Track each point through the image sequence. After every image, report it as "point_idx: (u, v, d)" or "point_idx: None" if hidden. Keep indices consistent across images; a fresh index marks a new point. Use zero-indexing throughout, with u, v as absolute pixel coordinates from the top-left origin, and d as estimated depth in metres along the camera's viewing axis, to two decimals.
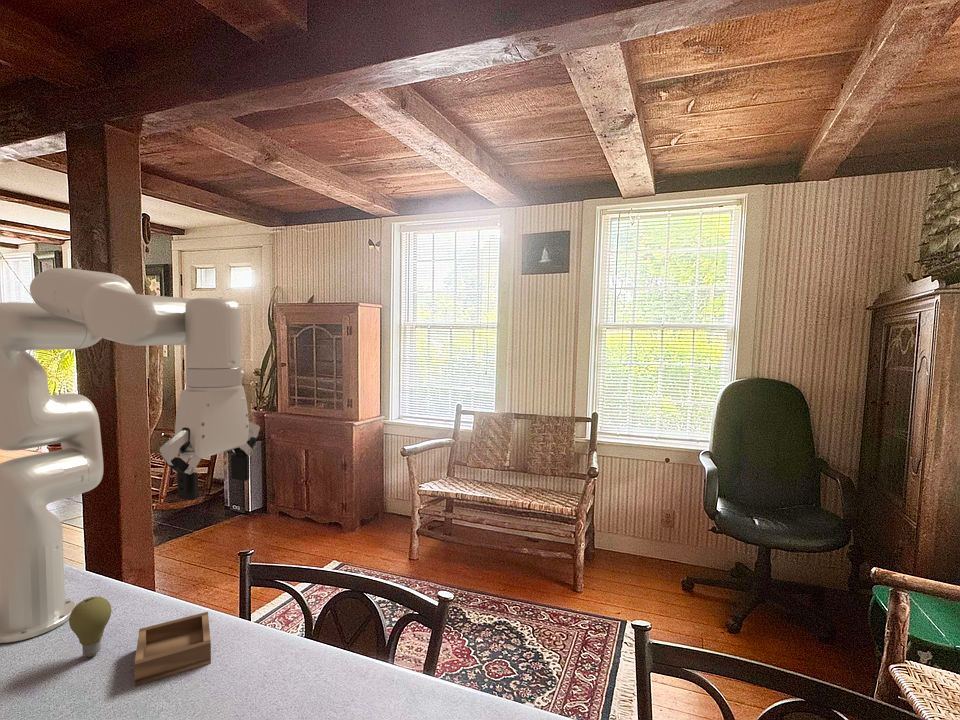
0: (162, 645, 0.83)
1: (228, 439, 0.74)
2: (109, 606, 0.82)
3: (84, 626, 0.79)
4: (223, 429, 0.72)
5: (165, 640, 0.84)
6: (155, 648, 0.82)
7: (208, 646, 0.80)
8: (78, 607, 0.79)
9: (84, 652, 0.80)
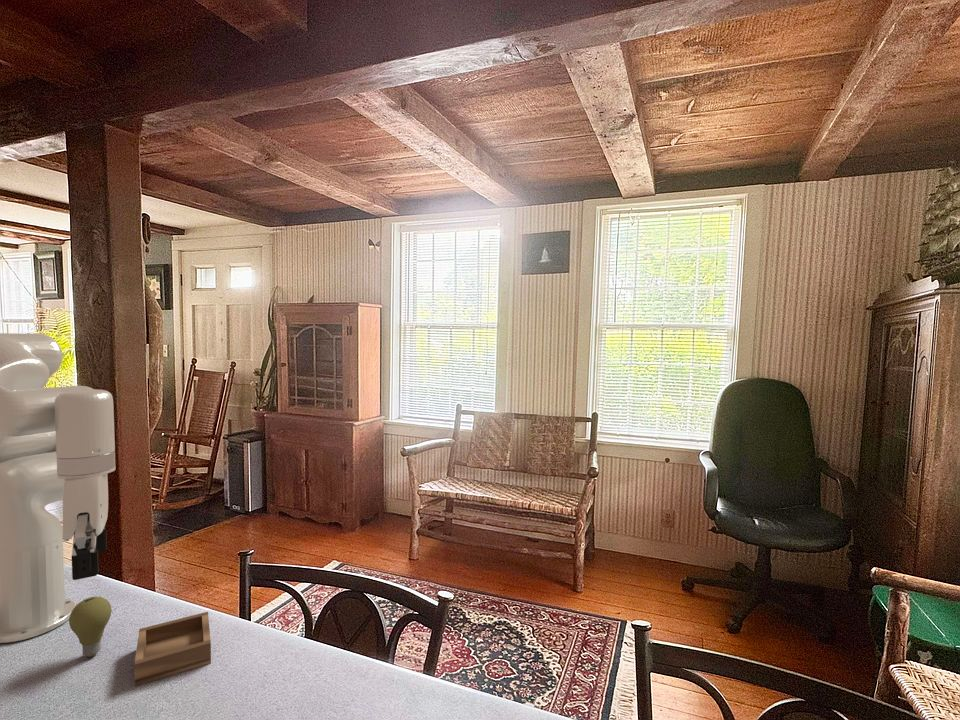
0: (162, 645, 0.83)
1: (106, 515, 0.81)
2: (109, 606, 0.82)
3: (84, 626, 0.79)
4: (106, 507, 0.81)
5: (165, 640, 0.84)
6: (155, 648, 0.82)
7: (208, 646, 0.80)
8: (78, 607, 0.79)
9: (84, 652, 0.80)
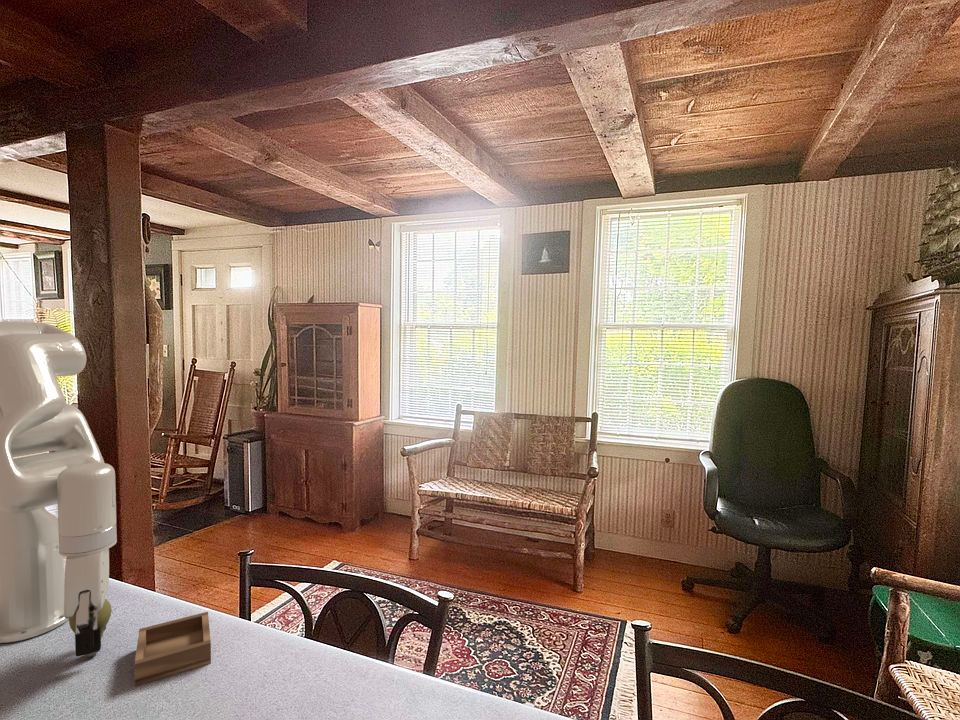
0: (162, 645, 0.83)
1: (107, 587, 0.82)
2: (109, 606, 0.82)
3: None
4: (107, 579, 0.81)
5: (165, 640, 0.84)
6: (155, 648, 0.82)
7: (208, 646, 0.80)
8: None
9: None
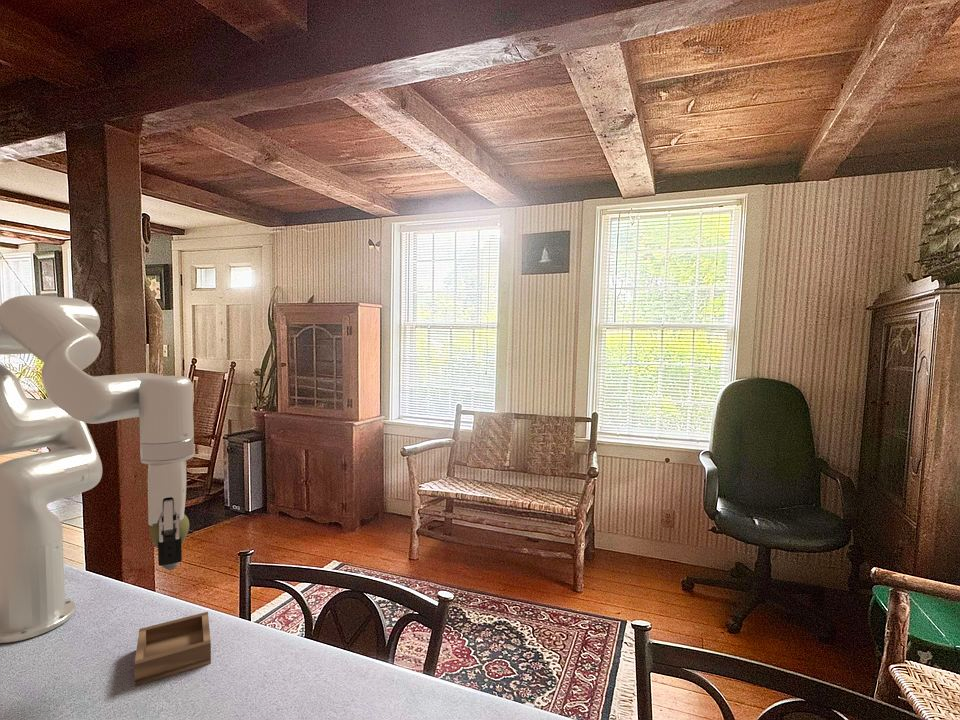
0: (162, 645, 0.83)
1: None
2: (187, 520, 0.82)
3: None
4: None
5: (165, 640, 0.84)
6: (155, 648, 0.82)
7: (208, 646, 0.80)
8: None
9: None
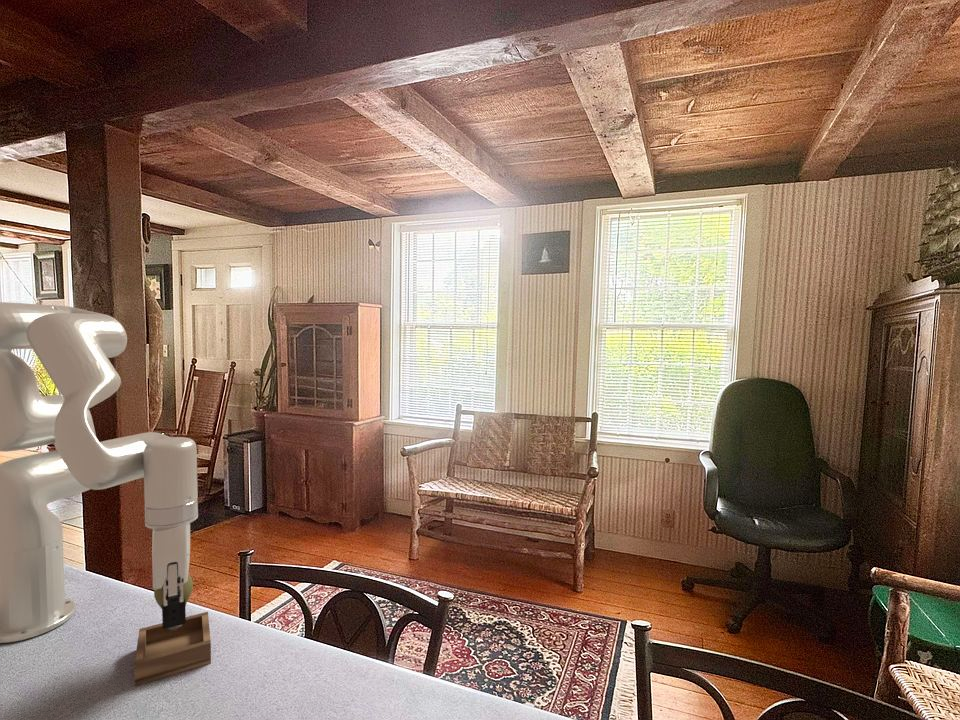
0: (162, 645, 0.83)
1: None
2: (191, 580, 0.82)
3: None
4: None
5: (165, 640, 0.84)
6: (155, 648, 0.82)
7: (208, 646, 0.80)
8: None
9: None
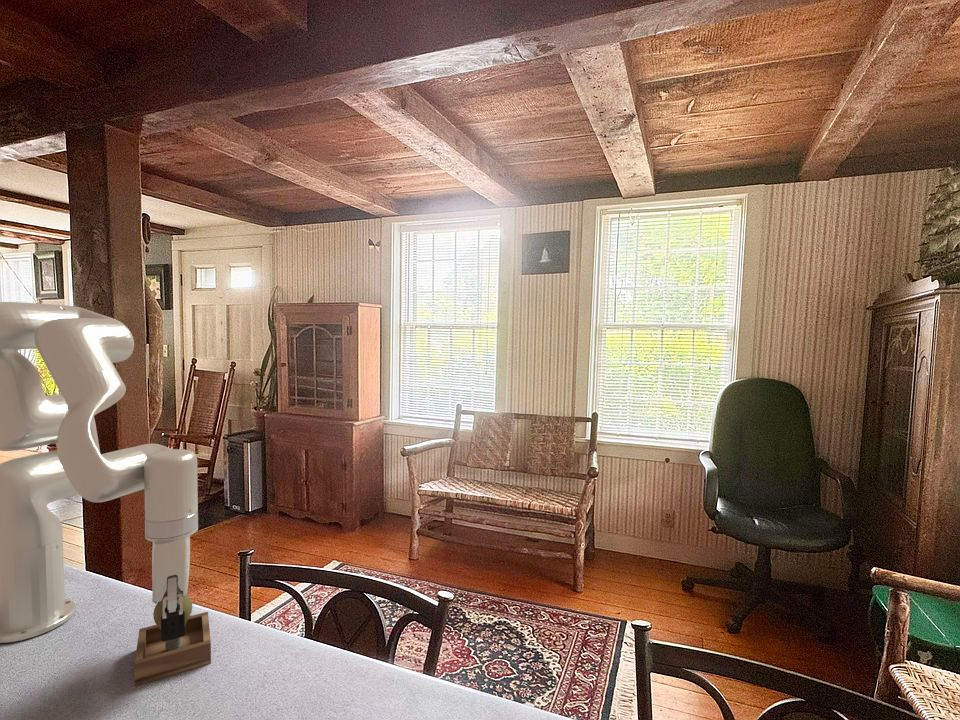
0: (162, 645, 0.83)
1: None
2: (190, 601, 0.82)
3: None
4: None
5: None
6: (155, 648, 0.82)
7: (208, 646, 0.80)
8: None
9: (167, 646, 0.81)
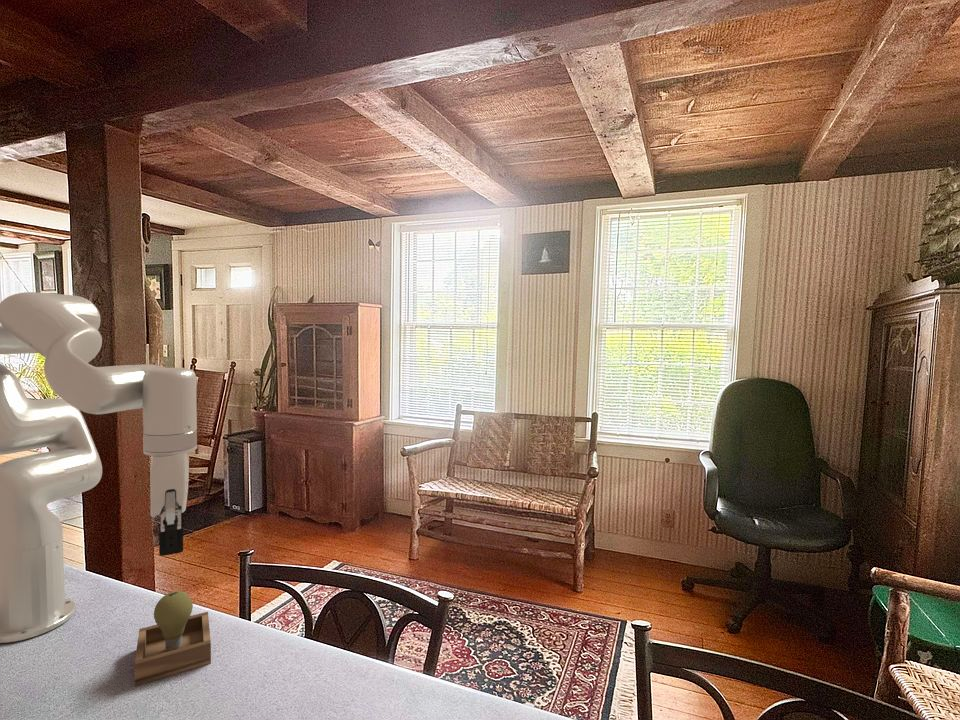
0: (162, 645, 0.83)
1: None
2: (191, 601, 0.82)
3: (170, 620, 0.79)
4: None
5: None
6: (155, 648, 0.82)
7: (208, 646, 0.80)
8: (163, 601, 0.80)
9: (167, 646, 0.81)
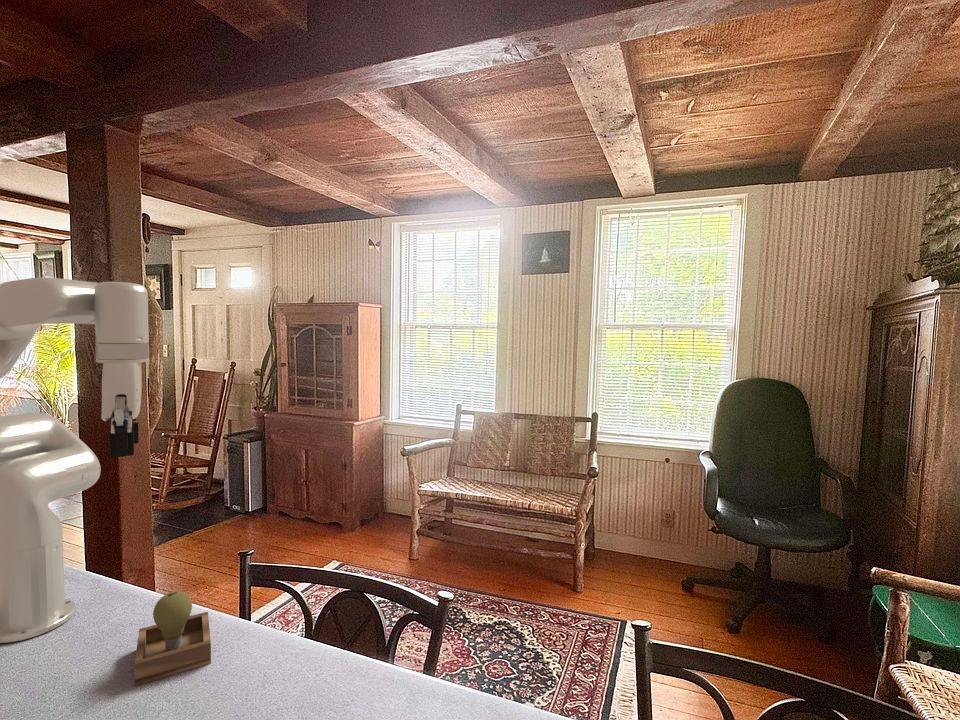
0: (162, 645, 0.83)
1: (140, 404, 0.86)
2: (190, 601, 0.82)
3: (169, 620, 0.79)
4: (140, 395, 0.85)
5: None
6: (155, 648, 0.82)
7: (208, 646, 0.80)
8: (162, 602, 0.80)
9: (167, 646, 0.81)
